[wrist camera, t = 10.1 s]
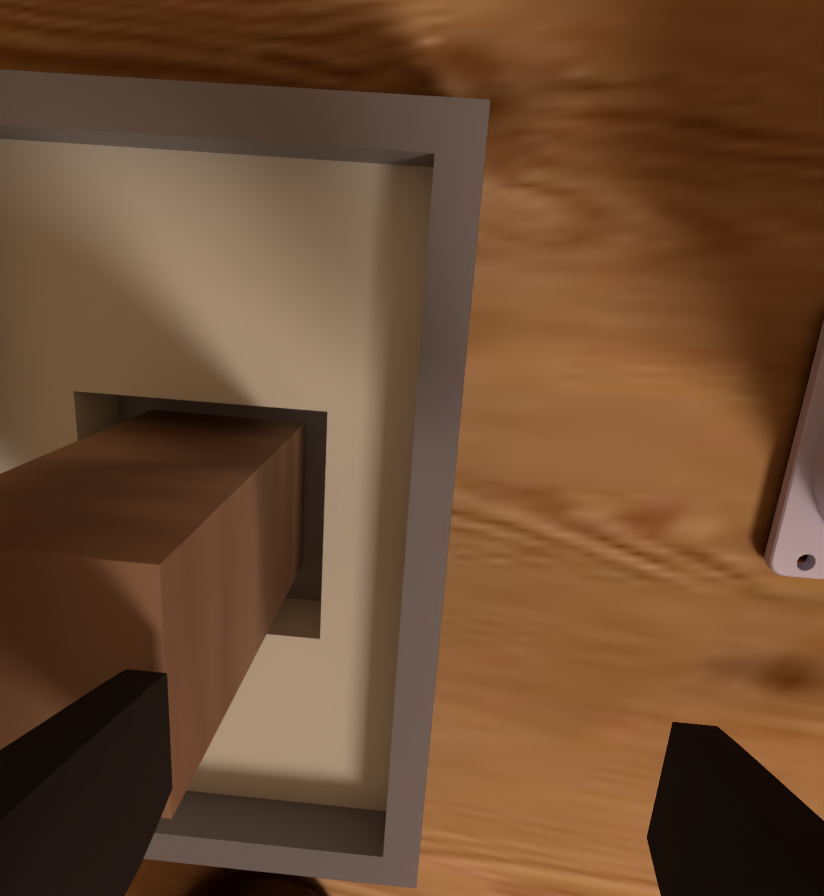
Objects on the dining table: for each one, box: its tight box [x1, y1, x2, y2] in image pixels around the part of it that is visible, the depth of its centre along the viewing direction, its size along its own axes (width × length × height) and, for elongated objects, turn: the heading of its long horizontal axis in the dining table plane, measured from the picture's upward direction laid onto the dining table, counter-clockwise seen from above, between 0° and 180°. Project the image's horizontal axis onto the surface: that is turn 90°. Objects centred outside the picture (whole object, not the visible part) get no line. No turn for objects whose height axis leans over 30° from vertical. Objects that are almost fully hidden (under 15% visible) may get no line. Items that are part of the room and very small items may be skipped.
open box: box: [0, 69, 490, 888], centre depth 16 cm, size 13×20×4 cm, turn 176°
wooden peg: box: [0, 410, 305, 819], centre depth 13 cm, size 4×4×9 cm
